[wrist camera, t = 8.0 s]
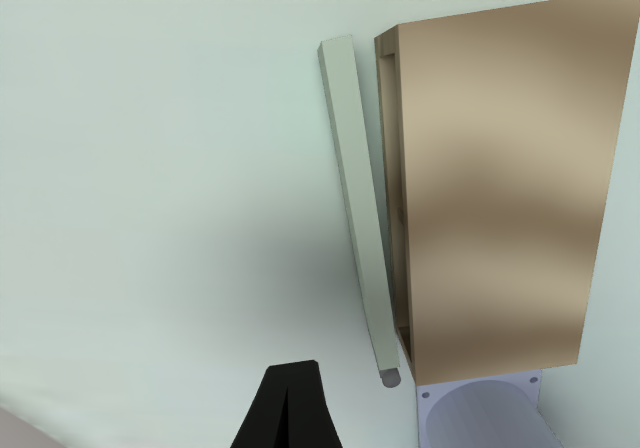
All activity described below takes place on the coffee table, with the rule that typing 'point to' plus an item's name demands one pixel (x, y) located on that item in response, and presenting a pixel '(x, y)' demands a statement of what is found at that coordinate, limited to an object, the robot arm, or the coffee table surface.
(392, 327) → the sage green panel
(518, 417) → the robot arm
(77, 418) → the coffee table surface
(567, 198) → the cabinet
